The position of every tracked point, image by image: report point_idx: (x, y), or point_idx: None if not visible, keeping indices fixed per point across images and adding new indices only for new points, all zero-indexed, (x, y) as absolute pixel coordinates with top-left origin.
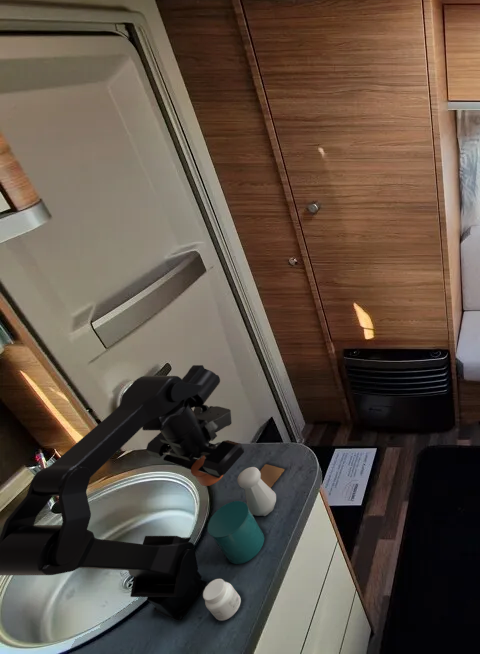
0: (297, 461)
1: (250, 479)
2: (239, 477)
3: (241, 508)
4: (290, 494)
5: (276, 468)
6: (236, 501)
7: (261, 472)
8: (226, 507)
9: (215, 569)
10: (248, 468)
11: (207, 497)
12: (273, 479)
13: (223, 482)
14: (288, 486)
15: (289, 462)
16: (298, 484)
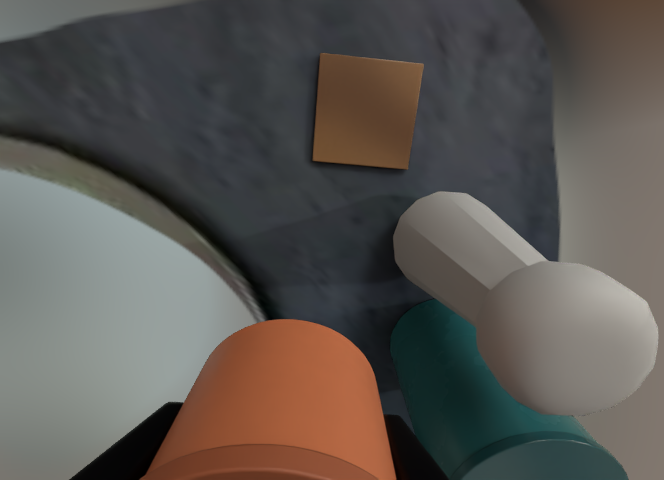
0: (459, 7)
1: (632, 390)
2: (537, 395)
3: (581, 469)
4: (499, 168)
5: (385, 67)
6: (528, 444)
7: (329, 99)
8: (491, 477)
9: (389, 400)
10: (573, 318)
11: (189, 233)
12: (403, 122)
13: (198, 168)
14: (476, 137)
15: (423, 20)
16: (513, 121)
